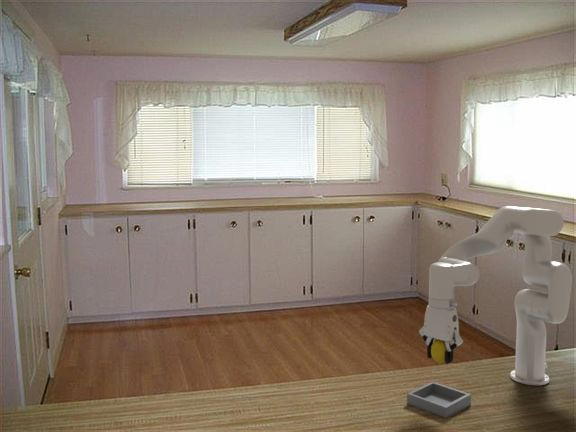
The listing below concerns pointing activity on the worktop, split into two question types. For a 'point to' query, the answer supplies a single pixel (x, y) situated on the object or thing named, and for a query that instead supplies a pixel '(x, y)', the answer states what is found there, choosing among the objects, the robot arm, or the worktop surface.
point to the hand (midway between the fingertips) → (439, 359)
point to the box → (439, 399)
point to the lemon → (438, 351)
